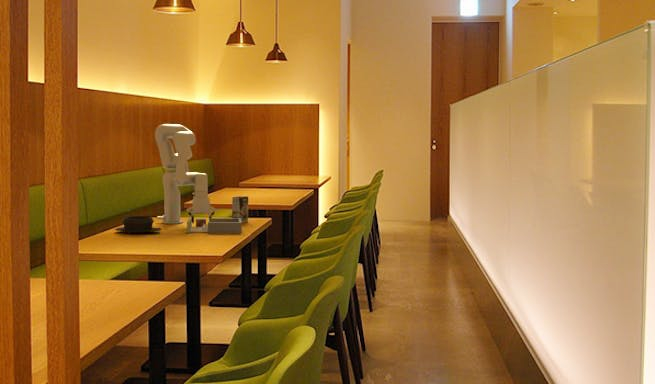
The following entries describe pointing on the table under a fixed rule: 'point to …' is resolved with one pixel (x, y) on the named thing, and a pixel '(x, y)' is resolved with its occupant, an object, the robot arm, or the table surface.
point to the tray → (196, 229)
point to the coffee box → (240, 208)
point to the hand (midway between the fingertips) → (201, 223)
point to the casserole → (138, 225)
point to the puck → (200, 222)
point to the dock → (224, 225)
